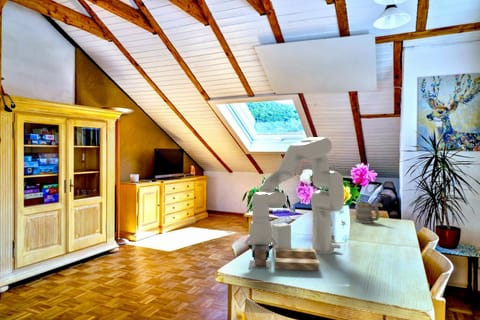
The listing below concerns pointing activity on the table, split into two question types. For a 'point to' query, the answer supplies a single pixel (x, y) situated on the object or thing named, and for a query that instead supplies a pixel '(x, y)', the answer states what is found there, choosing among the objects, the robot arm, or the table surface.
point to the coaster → (259, 265)
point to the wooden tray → (295, 259)
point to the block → (260, 254)
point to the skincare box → (281, 235)
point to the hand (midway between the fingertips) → (260, 258)
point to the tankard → (366, 212)
